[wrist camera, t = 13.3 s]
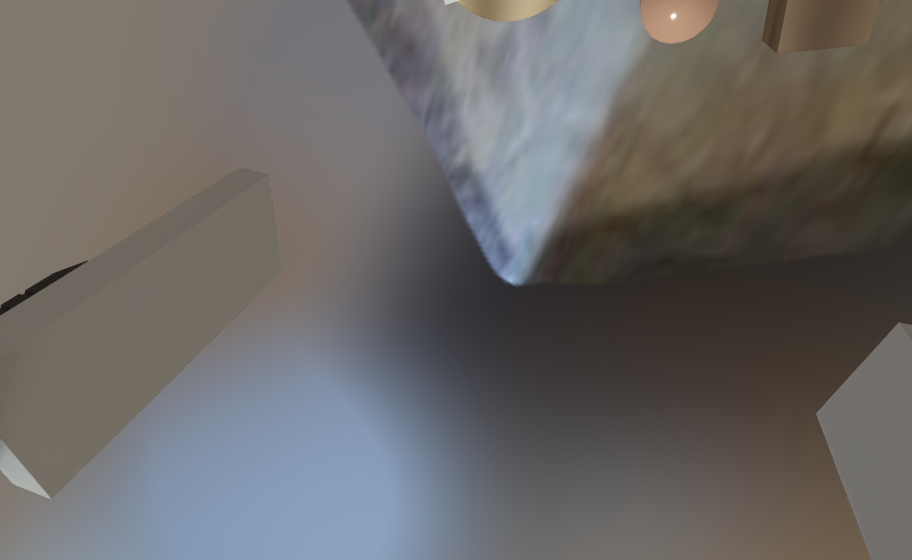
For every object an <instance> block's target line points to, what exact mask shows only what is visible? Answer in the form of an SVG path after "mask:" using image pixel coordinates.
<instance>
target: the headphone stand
mask: <svg viewBox="0 0 912 560" xmlns="http://www.w3.org/2000/svg"><path fill="white" fill-rule="evenodd" d="M456 1H459V0H444V2H445V5H447V4H450V3H453V2H456Z"/></svg>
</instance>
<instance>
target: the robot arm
mask: <svg viewBox="0 0 912 560" xmlns="http://www.w3.org/2000/svg"><path fill="white" fill-rule="evenodd" d="M283 270H284V266H283V259H282V253H281V247H280V241H279V234H278V228H277V222H276V215H275V209H274V203H273V196H272V190H271V184H270V178H269V174H265V173H261V172H257V171H253V170H248V169H244V168H238V169H237V170H235V171H233V172H232V173H230V174H229V175H227V176H225V177H224V178H222V179H221V180H219V181H217V182H216V183H214V184H212V185H211V186H209V187H208V188H206V189H204V190H203V191H201V192H199V193H198V194H196V195H195V196H193V197H192V198H190V199H188V200H187V201H185V202H183V203H182V204H180V205H178V206H177V207H175V208H174V209H172V210H170V211H169V212H167V213H166V214H164V215H162V216H161V217H159V218H158V219H156V220H154V221H153V222H151V223H149V224H148V225H146V226H145V227H143V228H142V229H140V230H138V231H136V232H135V233H133V234H132V235H130V236H128V237H127V238H125V239H123V240H122V241H120V242H119V243H117V244H116V245H114V246H112V247H111V248H109V249H107V250H106V251H104V252H102V253H101V254H100V255H98V256H96V257H94V258H93V259H91V260H89V261H85V262H83V263H80V264H77V265H74V266H72V267H69V268H66V269H63V270H61V271H58V272H55V273H53V274H51V275H50V276H48V277H47V278H45V279H43V280H41V281H40V282H38V283H37V284H35V285H33V286H32V287H30V288H28V289H27V290H25V293H24V294H23V295H21V294H18V295H17V296H15V297H13V298H12V299H10V300H8V301H7V302H5V303H3V304H2V305H1V308H0V470H1V471H2V472H3V473H4V474H5V475H6V476H7V478H8V479H10V481H11V482H12V483H13V484H15V485H17V486H20V487H22V488H25V489H27V490H30V491H32V492H35V493H37V494H40V495H42V496H45V497H47V498H50V499H53V497H55V496H56V495H57V494H58V493H59V492H60V491H61V490H62V489H63V488H64V487H65V486H66V485H67V484H68V483H69V482H70V481H71V480H72V479H73V478H74V477H75V476H76V475H77V474H78V473H79V472H80V471H81V470H82V469H83V468H84V467H85V466H86V465H87V464H88V463H89V462H90V461H91V460H92V459H93V458H94V457H95V456H96V455H97V454H98V453H99V452H100V451H101V450H102V449H103V448H104V447H105V446H106V445H107V444H108V443H109V442H110V441H111V440H112V439H113V438H114V437H115V436H116V435H117V434H118V433H119V432H120V431H121V430H122V429H123V428H124V427H125V426H126V425H127V424H128V423H129V422H130V421H131V420H132V419H133V418H134V417H135V416H136V415H137V414H138V413H139V412H140V411H141V410H142V409H144V407H146V406H147V405H148V404H149V403H150V402H151V401H152V400H153V399H154V398H155V397H156V396H157V395H158V394H159V393H160V392H161V391H162V390H163V389H164V388H165V387H166V386H167V384H169V383H170V382H171V381H172V380H173V379H174V378H175V377H176V376H177V375H178V374H179V373H180V372H181V371H182V370H183V369H184V368H185V367H186V366H187V365H188V364H189V363H190V362H191V361H192V360H193V359H194V358H195V357H196V356H197V355H198V354H199V353H200V352H201V351H202V350H203V349H204V348H205V347H206V346H207V345H208V344H209V343H210V342H211V341H212V340H213V339H214V338H215V337H216V336H217V335H218V334H219V333H220V332H221V331H222V330H223V329H224V328H225V327H226V326H227V325H228V324H229V323H230V322H231V321H232V320H233V319H234V318H235V317H236V316H237V315H239V313H240V312H242V310H243V309H245V308H246V307H247V306H248V305H249V304H250V303H251V302H252V301H253V299H255V298H256V297H257V296H258V295H259V294H260V293H261V292H262V291H263V290H264V289H265V288H266V287H267V286H268V285H269V284H270V283H271V282H272V281H273V280H274V279H275V278H276V277H277V276H278V275H279V274H280V273H281V272H282V271H283ZM816 414H817V417H818V420H819V422H820V425H821V428H822V430H823V433H824V435H825V438H826V441H827V443H828V446H829V449H830V451H831V454H832V457H833V459H834V462H835V465H836V467H837V470H838V472H839V475H840V478H841V481H842V483H843V486H844V489H845V491H846V493H847V496H848V499H849V502H850V504H851V507H852V510H853V512H854V515H855V518H856V520H857V523H858V525H859V528H860V531H861V534H862V536H863V539H864V542H865V544H866V547H867V550H868V552H869V555H870V558H871V560H912V325H907V324H903V323H898V324H897V325H896V326H895V328H894V329H893V330H892V331H891V332H890V333H889V334H888V335H887V336H886V337H885V339H884V340H883V341H882V342H881V343H880V344H879V345H878V346H877V347H876V348H875V350H874V351H873V352H872V353H871V354H870V355H869V356H868V357H867V358H866V359H865V361H864V362H863V363H862V364H861V365H860V366H859V367H858V368H857V369H856V370H855V372H854V373H853V374H852V375H851V376H850V377H849V378H848V379H847V381H845V383H844V384H843V385H842V386H841V387H840V388H839V389H838V390H837V391H836V392H835V394H834V395H833V396H832V397H831V398H830V399H829V400H828V401H827V402H826V403H825V405H824V406H823V407H822V408H821V409H820V410H819V411H818V412H817V413H816Z"/></svg>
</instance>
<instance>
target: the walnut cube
mask: <svg viewBox="0 0 912 560" xmlns="http://www.w3.org/2000/svg"><path fill="white" fill-rule="evenodd" d="M879 3H880V0H769V4H768V10H767V15H766V21H765V26H764V32H763V37H762V41H764V42H765V43H766V44H767V45H768V46H769V47H770V48H771V49H773V50H774V51H775V52H776V53H777V54H778V53H788V52H798V51H809V50H819V49H829V48H839V47H849V46H859V45H867V44H868V41H869V37H870V34H871V31H872V27H873V24H874V20H875V17H876V13H877V10H878V7H879Z"/></svg>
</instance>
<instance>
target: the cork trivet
mask: <svg viewBox="0 0 912 560" xmlns="http://www.w3.org/2000/svg"><path fill="white" fill-rule="evenodd" d="M557 1H558V0H459V1H457V2H458V3H459V4H460V5H461V6H463V7H464V8H465V9H467V10H468V11H470V12H472V13H474V14H475V15H478V16H480V17H483V18H486V19H490V20H494V21H517V20H522V19H526V18H529V17H531V16H534V15H537V14H539V13H540V12H542V11H544V10H546V9H548V8H549V7H550V6H552V5H553V4H554V3H556V2H557Z"/></svg>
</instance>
